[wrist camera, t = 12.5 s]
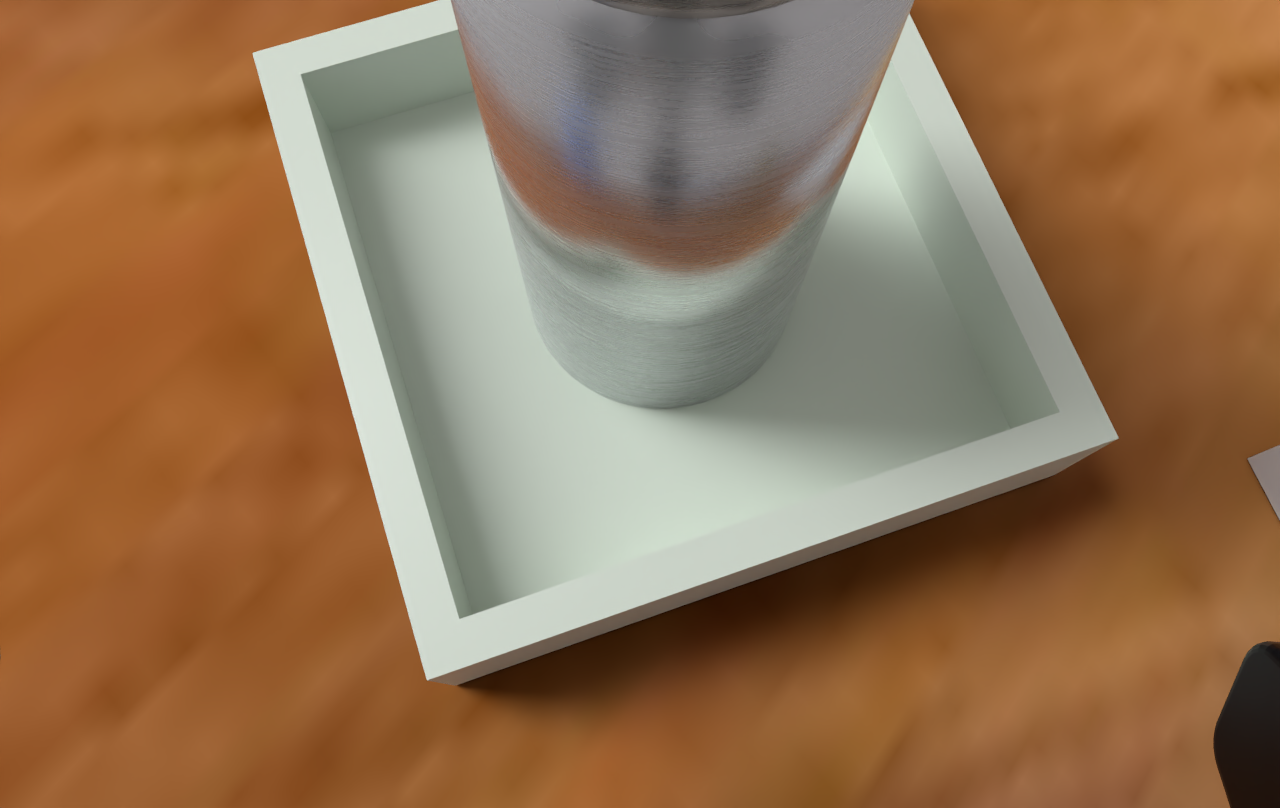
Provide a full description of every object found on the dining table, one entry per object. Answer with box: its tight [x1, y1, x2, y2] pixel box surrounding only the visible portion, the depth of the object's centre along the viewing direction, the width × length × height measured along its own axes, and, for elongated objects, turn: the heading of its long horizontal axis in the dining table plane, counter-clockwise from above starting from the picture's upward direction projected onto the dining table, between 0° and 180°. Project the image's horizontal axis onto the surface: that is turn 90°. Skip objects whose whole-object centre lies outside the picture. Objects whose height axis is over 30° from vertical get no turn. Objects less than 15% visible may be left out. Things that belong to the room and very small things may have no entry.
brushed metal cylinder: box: [451, 0, 914, 409], centre depth 16 cm, size 6×6×12 cm
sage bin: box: [253, 0, 1118, 686], centre depth 21 cm, size 13×13×3 cm
